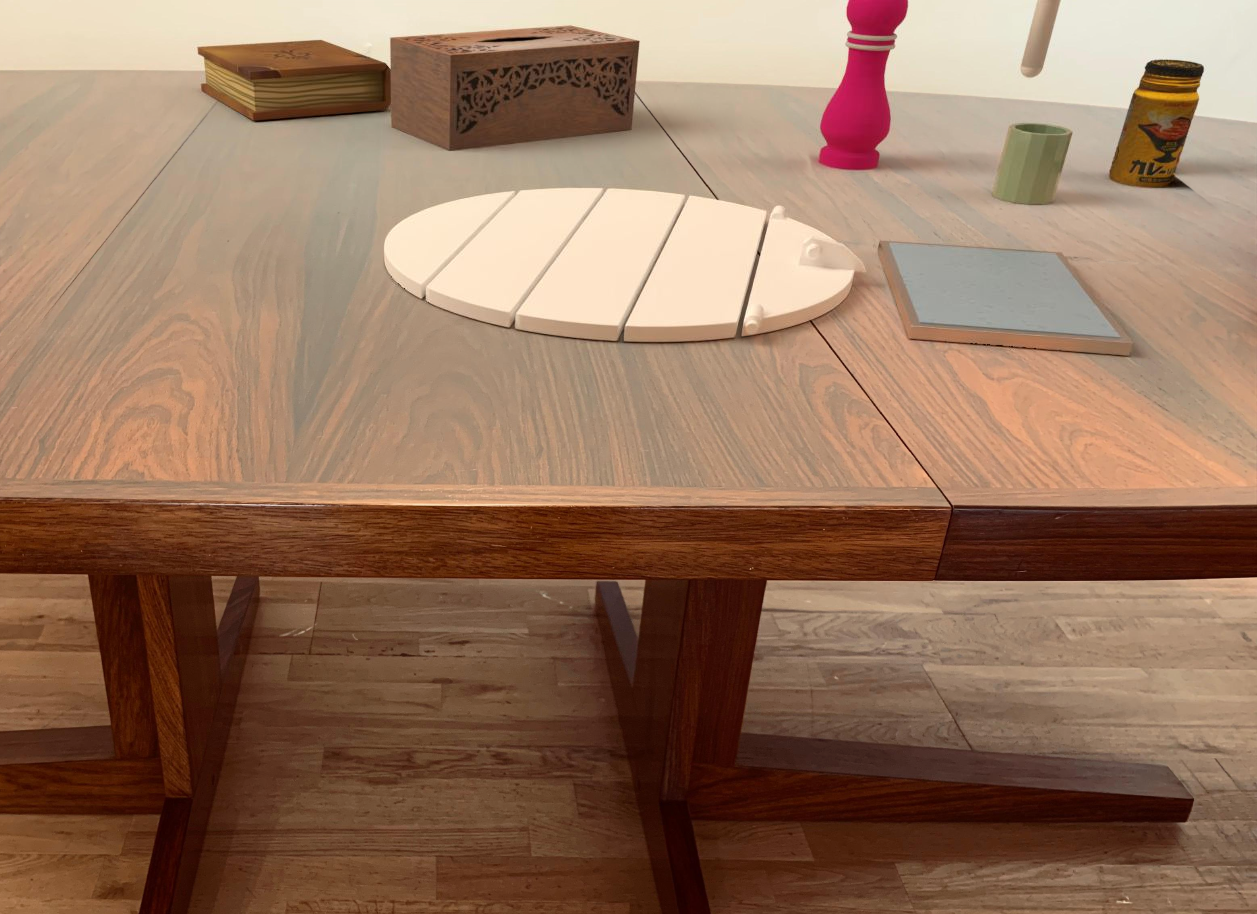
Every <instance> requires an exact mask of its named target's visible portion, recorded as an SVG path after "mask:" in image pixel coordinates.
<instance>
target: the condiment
mask: <svg viewBox="0 0 1257 914" xmlns="http://www.w3.org/2000/svg"><path fill="white" fill-rule="evenodd" d="M1204 72H1205V67H1204V65H1203V64H1201V63H1199V62H1196V61H1191V60H1190V61H1189V60H1181V59H1153V60H1150V61H1147V63H1146V64H1145V65H1144V72H1143V74H1142V76H1141V78H1140V80H1139V84H1138V87H1136V89H1134V91H1133V93H1132V96H1131V99H1130V103H1129V105H1128V109H1127V112H1126V116H1125V119H1124V121H1123V126H1122V129H1121V132H1120V135H1119V138H1118V141H1117V146H1116V148H1115V151H1114V155H1113V157H1112V162H1111V165H1110V168H1109V171H1108V173H1109V174H1108V175H1109V180H1110V181H1112V182H1114V183H1117V184H1120V185H1125V186H1130V187H1134V188H1135V187H1137V188H1146V189H1157V188H1158V189H1159V188H1166V187H1169V186H1170V183H1171V182H1173V179H1174V178H1175V173H1176V171H1177V167H1178V164H1179V163H1180V159H1181V155H1182V152H1183V149H1184V147H1185V144H1186V141H1187V139H1188V138H1187V137H1188V134H1189V131H1190V128H1191V125H1192V122H1193V119H1194V116H1195V114H1196V110H1197V108H1198V105H1199V101H1200V95H1199V93H1198V89H1199V88H1200V86H1201V80H1202V77H1203V74H1204Z"/></svg>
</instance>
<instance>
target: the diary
mask: <svg viewBox="0 0 1257 914" xmlns="http://www.w3.org/2000/svg"><path fill="white" fill-rule="evenodd" d="M196 48H197V55H198V56H201V57H203V61H204V63H203V64H204V71H205V73H204V74H205V82H204V83H200V88H201V90H200V91H201V92H203V93H205V94H206V95H208V96H210V97H212V98H214V99H215V100H217V101H219V102H221V103H222V104H224V105H226V106H227V107H229V108H231V109H232V110H234V111H236V112H238V113H240V114H241V115H243V116H244V117H246V118H248V119H250V120H252V121H265V120H277V119H287V118H288V119H289V118H301V117H312V116H325V115H337V114H350V113H361V112H363V113H364V112H372V111H374V112H375V111H385V110H388V108H389V107H390V106H391V67H390V66H389V65H388V64H387V63H386V62H385V61H382V60H379V59H375V58H372V57H370V56H367V55H364V54H361V53H360V52H356V51H354V50H351V49H348V48H345V47H342V46H340V45H336V44H333V43H331V42H329V41H326V40H323V39H312V40H294V41H292V40H291V41H277V42H276V41H275V42H260V43H241V44H240V43H239V44H225V45H205V46H197V47H196Z"/></svg>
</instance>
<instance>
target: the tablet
mask: <svg viewBox="0 0 1257 914" xmlns="http://www.w3.org/2000/svg"><path fill="white" fill-rule="evenodd" d="M877 254H878V257H879V259H880V262H881V265H882V268H883V271H884V273H885V276H886V279H887V281H888V285H889V287H890V290H891V293H892V296H893V299H894V302H895V304H896V307H897V310H898V312H899V315H900V317H901V321H902V324H903V326H904V329H905V333H906V335H907V338H908V339H909V340H920V341H921V340H922V341H933V342H945V341H946V342H948V343H958V344H959V343H960V344H970V343H973V344H972V345H983V344H986V346H988V345H987V344H990V345H989V346H996V345H1003V346H1002V347H1009V346H1010V347H1011V346H1013V347H1011V348H1022V347H1026V348H1025V349H1034V348H1036V350H1048V351H1050V350H1051V351H1060V350H1061V352H1062V351H1063V352H1073V353H1074V352H1075V353H1085V354H1099V355H1100V354H1101V355H1110V356H1111V355H1113V356H1125V357H1129V356H1130V355H1131V352H1132V349H1133V346H1134V341H1133V340H1132V339H1131V338H1130V337H1129V335H1128V333H1126V331H1125V330H1124V329H1123V328H1122V326H1121V325H1120V324H1119V323H1118V322H1117V320H1116V319H1115V317H1113V315H1112V314H1111V313H1110V311H1109V310H1108V308H1107V307H1106V306H1105V305H1104V304H1103V302H1102V301H1101V300H1100V298H1098V297H1097V295H1096V294H1095V293H1094V291H1093V289H1091V287H1090V286H1089V285H1088V284H1087V282H1086V281H1085V280H1084V278H1082V276H1081V275H1080V273H1079V272H1078V271H1077V270H1076V269H1075V268H1074V266H1073V265H1072V264H1071V262H1070V261H1069V260H1068V259H1067V258H1066V256H1065V255H1064V254H1063V253H1062V252H1061V251H1060V252H1059V251H1046V250H1030V249H1016V248H1015V249H1013V248H1001V247H1000V248H999V247H985V246H972V245H971V246H969V245H955V244H939V243H924V242H909V241H895V240H894V241H893V240H879V241H878V245H877ZM975 343H977V344H975Z"/></svg>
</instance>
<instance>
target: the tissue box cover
mask: <svg viewBox="0 0 1257 914" xmlns="http://www.w3.org/2000/svg"><path fill="white" fill-rule="evenodd" d="M640 43H641V42H640V40H638V39H634V38H629V37H626V36H625V37H624V36H620V35H616V34H612V33H611V34H610V33H606V32H601V31H598V30H593V29H589V28H585V27H580V26H575V25H572V24H571V25H570V24H569V25H555V26H543V27H528V28H527V27H526V28H512V29H497V30H482V31H481V30H480V31H468V32H452V33H438V34H424V35H423V34H421V35H409V36H408V35H407V36H394V37H389V46H390V47H389V49H390V50H389V53H390V56H389V57H390V59H389V60H390V69H391V104H390V127H391V128H394V129H396V130H398V131H401V132H403V133H406V134H408V135H411V136H412V137H416V138H418V139H420V140H423V141H426V142H428V143H430V144H433V145H435V146H437V147H440V148H442V149H445V150H447V151H458V150H466V149H475V148H483V147H492V146H498V145H499V146H500V145H501V146H502V145H508V144H518V143H519V144H520V143H528V142H535V141H543V140H551V139H561V138H562V139H563V138H570V137H578V136H588V135H595V134H596V135H597V134H607V133H614V132H622V131H630V130H631V131H632V128H633V120H634V119H633V118H634V108H635V95H636V84H637V74H638V64H639V63H638V62H639V51H640V50H639V49H640Z"/></svg>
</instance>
